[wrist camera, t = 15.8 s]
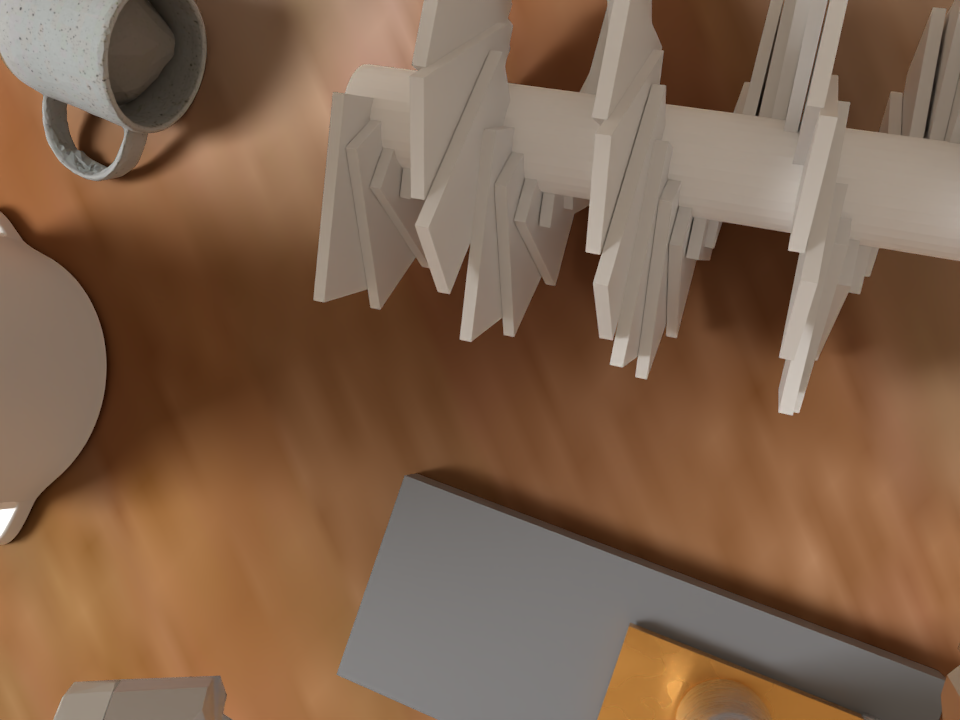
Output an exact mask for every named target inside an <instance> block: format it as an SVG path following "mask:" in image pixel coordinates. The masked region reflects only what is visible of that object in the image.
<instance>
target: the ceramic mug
mask: <svg viewBox="0 0 960 720" xmlns="http://www.w3.org/2000/svg"><path fill="white" fill-rule="evenodd" d="M206 56H207V42H206V31H205V25H204V22H203V18H202V16H201V13H200V11H199V8H198V6H197V5H196V3H195V1H194V0H0V57H1V59H2V60H3V62H4V64H5V65H6V66H7V68H8V69H9V70H10V71H11V72H12V73H13V74H14V75H15V76H16V77H17V78H18V79H19V80H21V81H22V82H23V83H25V84H27V85H28V86H30V87H31V88H33V89H35V90H36V91H38V92H40V93H42V94H43V102H42V114H43V125H44V129H45V134H46V138H47V141H48V143H49V145H50V147H51V149H52V150H53V152H54V154H55V155H56V157H57V158H58V159H59V161H60V162H61V163H62V164H63V165H64V166H65V167H67V168H68V169H69V170H70V171H72V172H73V173H75V174H77V175H79V176H81V177H83V178H85V179H89V180H94V181H102V180H108V179H113V178H118V177H122V176H123V175H125V174H126V173H128V172H129V171H131V170H132V169H133V168H134V167H135V166H136V165H137V163H138V161H139V160H140V157H141V155H142V152H143V149H144V146H145V144H146V140H147V135H148V133H155V132H159V131H162V130H164V129H166V128H168V127H170V126H172V125H173V124H174V123H175V122H177V121H178V120H179V119H180V118H181V117H182V116H183V115H184V114H185V112H186V111H187V109H188V108H189V106H190V105H191V104H192V102H193V100H194V98H195V96H196V94H197V92H198V89H199V87H200V84H201V81H202V78H203V74H204V70H205V63H206ZM67 104H70V105H72V106H75V107H78V108H80V109H82V110H84V111H86V112H88V113H91V114H93V115H95V116H98V117H101V118H103V119H106V120H108V121H110V122H112V123H115V124H117V125H119V126H122V127H123V128H124V139H123V142H122V144H121V147H120V150H119V152H118V154H117V156H116V158H115V160H114V162H113V163H112V164H111V165H110V166H109V167H106V166H104V165H102V164H100V163H98V162H96V161H94V160H92V159H90V158H89V157H88V156H86V154H85V153H84V152H83V151H80V150H77V148H76V147H75V145H74V143H73V140H72V138H71V135H70V132H69V127H68V122H67Z"/></svg>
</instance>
